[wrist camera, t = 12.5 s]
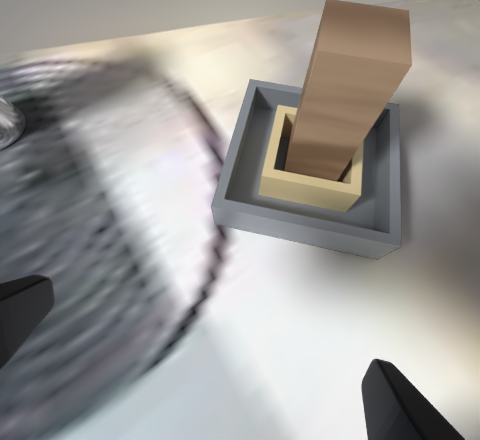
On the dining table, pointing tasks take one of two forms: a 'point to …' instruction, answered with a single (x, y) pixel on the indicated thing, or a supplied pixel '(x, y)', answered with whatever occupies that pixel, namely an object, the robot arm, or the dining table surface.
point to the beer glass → (10, 123)
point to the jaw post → (347, 85)
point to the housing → (309, 181)
